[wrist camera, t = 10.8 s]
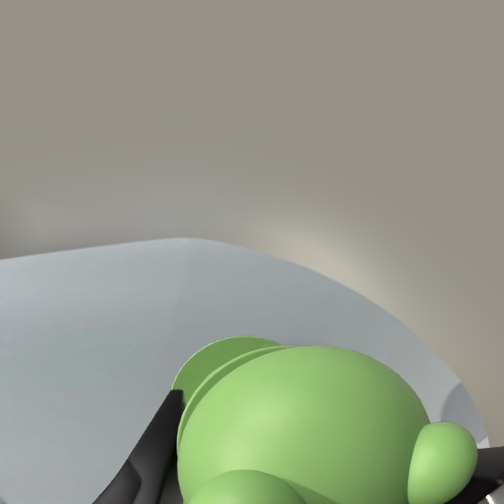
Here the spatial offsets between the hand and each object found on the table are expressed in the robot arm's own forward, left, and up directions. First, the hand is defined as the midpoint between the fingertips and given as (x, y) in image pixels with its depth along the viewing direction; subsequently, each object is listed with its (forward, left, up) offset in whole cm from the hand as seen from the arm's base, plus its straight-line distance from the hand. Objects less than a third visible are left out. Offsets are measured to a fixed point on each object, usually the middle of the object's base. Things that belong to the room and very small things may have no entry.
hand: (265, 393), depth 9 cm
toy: (-1, +1, -7) cm, 7 cm away
